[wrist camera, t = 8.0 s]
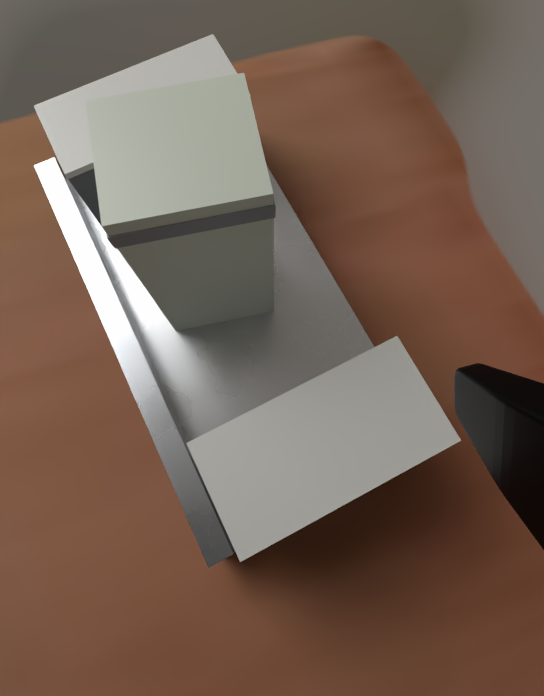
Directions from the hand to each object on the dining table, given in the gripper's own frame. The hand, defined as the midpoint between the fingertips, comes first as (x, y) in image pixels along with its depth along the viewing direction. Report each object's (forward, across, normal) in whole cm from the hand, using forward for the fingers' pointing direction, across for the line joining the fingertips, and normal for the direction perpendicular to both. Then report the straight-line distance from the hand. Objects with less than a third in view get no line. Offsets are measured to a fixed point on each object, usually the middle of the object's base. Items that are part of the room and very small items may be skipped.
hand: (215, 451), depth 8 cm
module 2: (+8, -2, +8) cm, 11 cm away
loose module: (+14, 0, +2) cm, 14 cm away
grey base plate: (+14, -1, +4) cm, 15 cm away
